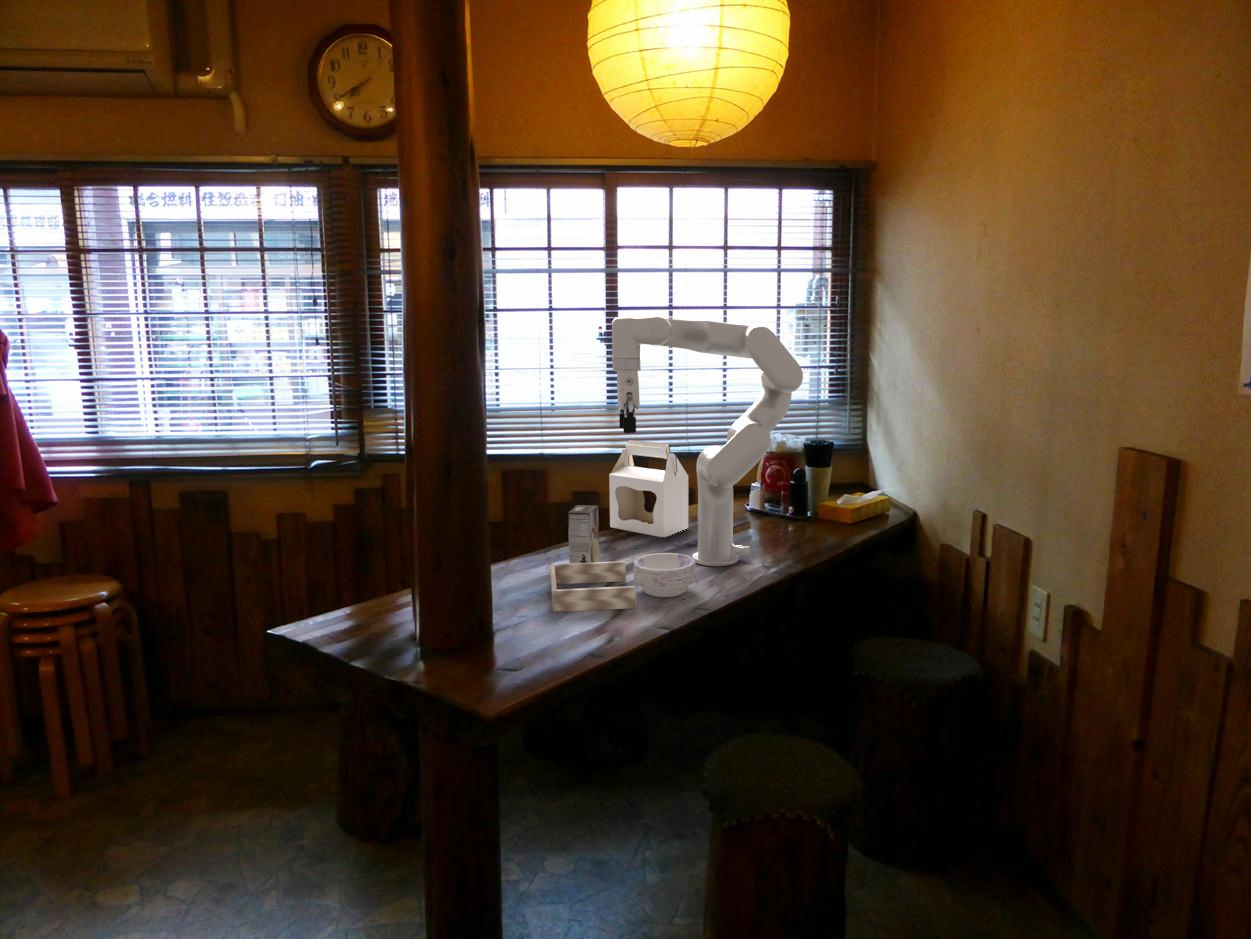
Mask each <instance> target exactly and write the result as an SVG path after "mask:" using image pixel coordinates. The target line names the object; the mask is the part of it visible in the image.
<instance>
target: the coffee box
mask: <svg viewBox="0 0 1251 939" xmlns="http://www.w3.org/2000/svg"><path fill="white" fill-rule="evenodd" d="M599 519H600V518H599V505H590V504H589V505H587V504H586V505H585V504H576V505H575V506H574V507H573V508H571V509H570V510H569V511H568V512H567V524H568V526H567V527H568V555H569V556H568V557H569V558H568V559H569V560H568V564H570V563H593V562H601V560H600V557H601V556H600V521H599Z"/></svg>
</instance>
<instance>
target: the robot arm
mask: <svg viewBox="0 0 1251 939" xmlns="http://www.w3.org/2000/svg"><path fill="white" fill-rule="evenodd" d="M611 344H612V345H611V346H612V347H611V350H612V351H611V354H612V356H611V358H612V362H611V364H612V372H616V387H617V388H616V390H617V391H616V396H617V405H618V407H619V414H618V415H619V420H618V421H619V424H618V425H619V428H620V429H623V433H624V434H636V433H637V417H636V410H639V409H640V408H641V406H640V404H641V403H640V402H641V401H640V382H639V372H641V371H642V345H649V346H656V347H657V346H660V347H669V348H678V349H684V350H688V351H689V350H691V351H693V352H696V353H697V352H698V353H701V354H708V355H709V354H711V355H718V356H729V357H734V358H735V357H737V358H742V359H743V358H744V359H752V360H753V361H754V363H755V364H756V365H757V367H758V368H759V369H760V371H761V372H760V379H761V385H762V386H761V387H762V388H761V391H760V395H759V396H758V398H757V399H756V400H755V402H754V403H753V404H752V405H751V406H750V407H749V408H748V409H747V410H746V411H745V412H744V413H743V414H742V415H741V416H740V417H738V419H737V420H736V421H735V422H734V423H733V424H732V425H731V426H730V427H729V429H728V430H727V433H726V440H727V442H726V443H725V444H724V445H723V446H722V447H721V446H719V445H711V446H708V447H706V448H704V449H703V450H701V452H700V453H699V455H698V457H697V460H696V481H697V551H696V552H694V553H693V554H692V555H691V557H692V558H693V559H694V560H695V562H696V564H698V565H703V566H708V567H725V566H730V565H733V564H736V563H737V562H738V561H739V554H750V553H751V552H750V551H751V548H750V546H744V545H743V544H740V545H738V544H737V545H735V543H733V541H734V539H733V538H734V534H733V530H734V485H735V484H738V482H739V481H741V479H742V478H744V477H745V476H746V475H747V474H748V473H749V472H750V471H751V470H752V469H753V468H754V467H755V466H756V465H757V464H758V463H759V462H760V461H761V460H762V459H763V458H764V457H765V455H766V454H767V453H768V450H769V449H770V446H771V442H772V438H771V432H772V431H773V430H774V429H775V428H776V427H777V425H778V424H779V423H780V422H781V421H782V420H783V419H784V417H785V416H786V415H787V413H788V411H789V409H790V406H791V402H792V395H793V392H795V391H797V390H798V389H799V388H800V387H801V385H802V384H803V381H804V380H803V379H804V372H803V370H802V367H801V365H800V364H799V363H798V362H797V360H796V359H795V358H794V356H793V355H792V354H791V353H790V352H789V350H788V349H787V347H785V345H784V344H783V343H782V342H781V340H780V338H778V337H777V335H776V334H775V333H774V332H773V331H772V330H771V329H770V328H768V327H766V326H764V325H763V326H762V325H761V326H760V325H759V326H758V325H747V324H739V323H730V322H725V321H724V322H723V321H716V320H704V319H703V320H686V319H685V320H683V319H675V318H669V317H667V318H666V317H663V316H659V315H652V316H647V317H633V316H628V317H627V316H626V317H625V316H624V317H623V316H622V317H615V318H614V319H613V320H612V322H611Z"/></svg>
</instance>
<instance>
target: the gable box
mask: <svg viewBox="0 0 1251 939" xmlns="http://www.w3.org/2000/svg"><path fill="white" fill-rule="evenodd" d="M624 445H625V448H621V454H620V455H619V457H618V458H617V461H616V462H615V464H614V466H613V467H612V469H611V471H610V473H609V475H608V476H609V479H608V480H609V482H608V483H609V526H610V528H612V529H617V530H622V531H628V532H631V533H632V532H633V533H638V534H641V535H642V534H643V535H647V536H648V535H649V536H653V537H657V538H663V537H664V538H666V537H670V536H672V534H673V535H675V533H676V534H678V533H677V532H679V533H681V532H683V531H682V530H684V531H686V530H685V529H687V528H688V529H689V474H688V473H687V471H686V470H685V469H684V467H683V465H682V464H681V462H680V460H679V459H678V457H677V454H675V453H672V452H671V447H670V445H669V443H663V442H653V441H645V440H633V439H629V440H628V441H627V443H625V444H624ZM633 456H640V457H641V456H642V457H651V458H659V459H664V460H666V461H665V467H664V468H665V469H658V468H649V467H641V466H635V463H634V459H633ZM644 491H646V492H652V493H654V495H655V497H656V501H655V504H654V507H653V509H652V511H651V512H649V511H647V510H646V509H645V502H646V501H645V500H646V499H645V495H644ZM642 521H650V522H653V524H648V522H642ZM688 529H687V530H688ZM680 531H681V532H680Z"/></svg>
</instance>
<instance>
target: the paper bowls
mask: <svg viewBox="0 0 1251 939" xmlns="http://www.w3.org/2000/svg"><path fill="white" fill-rule="evenodd" d="M632 565H633V566H632V567H633V582H634V583H635V584H637V585H638V586H640V587H641V589H642V590H643V592H644V593H646V594H647V595H648V596H651V597H656V598H673V597H678V596H680V595H683V594H684V593H685V592H686V591H687V590H688V587H689V586H691V585H692V584H693V583H695V582H696V579H697V570H696V568H697V563H696V562H695V560H694V559H693V558H692V556H690V555H686V554H684V553H683V554H682V553H675V552H660V553H658V552H657V553H651V554H646V555H642V556H639V557H637V558H636V559H635V560H634V561H633V563H632Z"/></svg>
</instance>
